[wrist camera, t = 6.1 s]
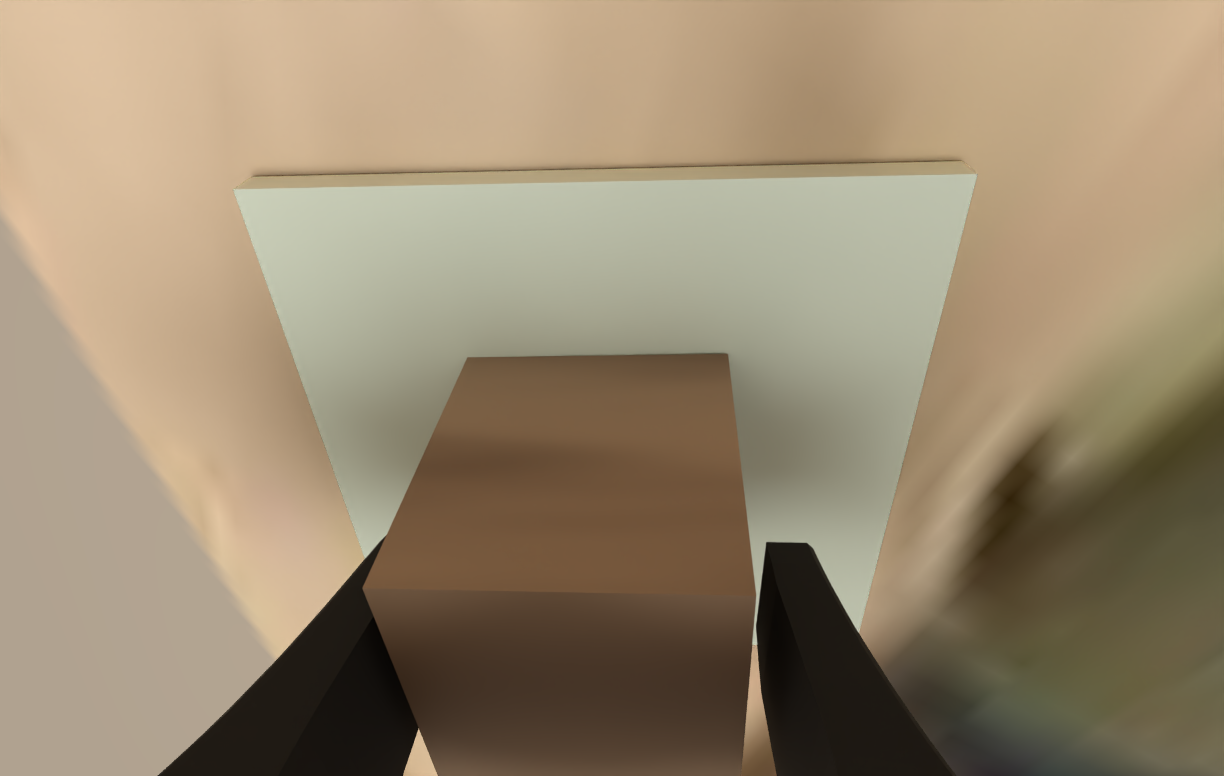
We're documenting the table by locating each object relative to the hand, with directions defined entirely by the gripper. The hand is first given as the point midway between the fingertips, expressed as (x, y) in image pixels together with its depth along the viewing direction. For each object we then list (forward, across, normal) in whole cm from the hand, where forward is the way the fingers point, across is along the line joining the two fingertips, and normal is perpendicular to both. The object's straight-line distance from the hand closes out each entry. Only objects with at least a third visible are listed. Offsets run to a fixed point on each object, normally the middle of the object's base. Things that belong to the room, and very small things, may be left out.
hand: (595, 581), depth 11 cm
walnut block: (+3, 0, 0) cm, 3 cm away
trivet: (+3, 0, 0) cm, 3 cm away
